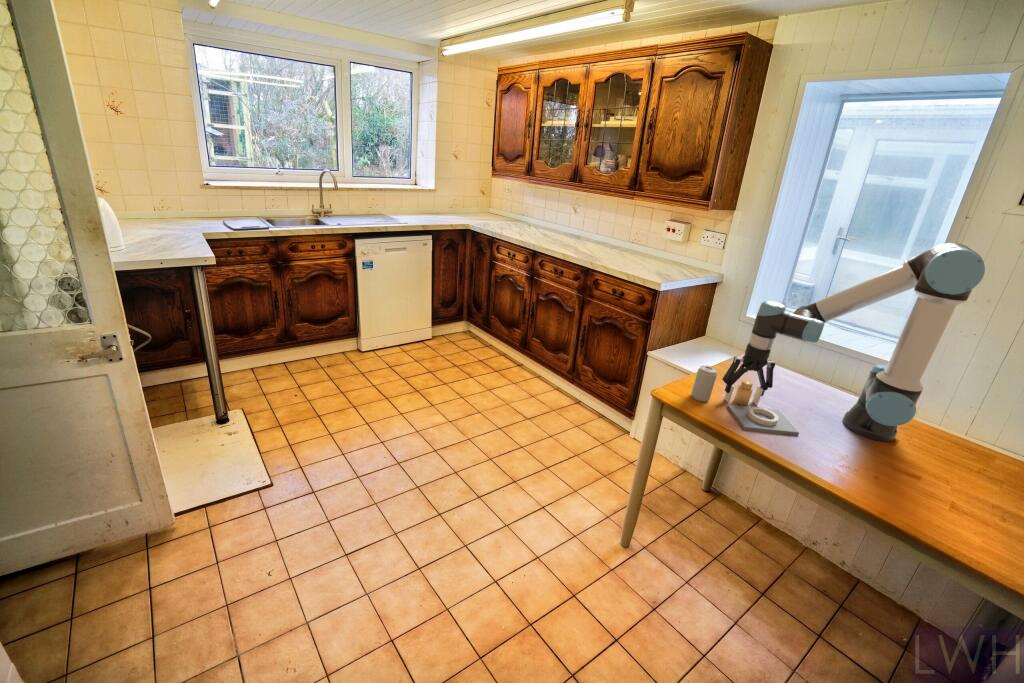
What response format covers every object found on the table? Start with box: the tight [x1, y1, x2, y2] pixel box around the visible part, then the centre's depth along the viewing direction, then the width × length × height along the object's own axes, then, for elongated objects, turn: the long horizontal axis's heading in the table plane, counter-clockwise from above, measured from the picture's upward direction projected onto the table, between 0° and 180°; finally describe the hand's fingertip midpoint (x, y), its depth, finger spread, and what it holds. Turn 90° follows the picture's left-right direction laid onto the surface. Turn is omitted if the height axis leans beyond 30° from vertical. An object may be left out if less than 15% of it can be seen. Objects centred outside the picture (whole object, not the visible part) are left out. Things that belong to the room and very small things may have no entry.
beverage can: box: [691, 365, 718, 403], centre depth 170 cm, size 6×6×12 cm
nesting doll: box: [733, 380, 754, 407], centre depth 171 cm, size 5×5×8 cm
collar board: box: [726, 404, 800, 436], centre depth 161 cm, size 18×14×3 cm
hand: (740, 401), depth 172 cm, fingers open, 10 cm apart
